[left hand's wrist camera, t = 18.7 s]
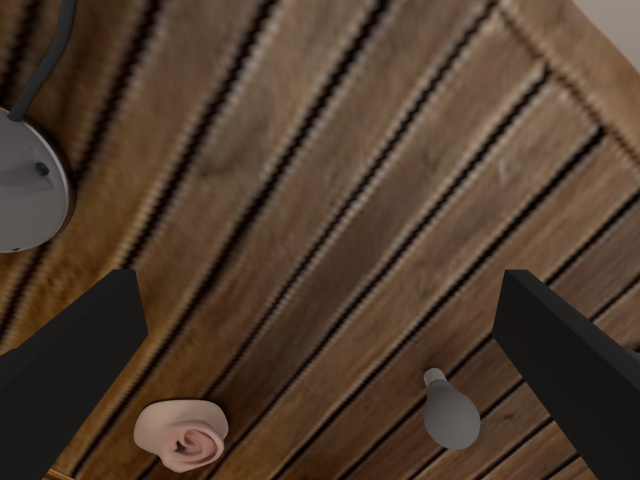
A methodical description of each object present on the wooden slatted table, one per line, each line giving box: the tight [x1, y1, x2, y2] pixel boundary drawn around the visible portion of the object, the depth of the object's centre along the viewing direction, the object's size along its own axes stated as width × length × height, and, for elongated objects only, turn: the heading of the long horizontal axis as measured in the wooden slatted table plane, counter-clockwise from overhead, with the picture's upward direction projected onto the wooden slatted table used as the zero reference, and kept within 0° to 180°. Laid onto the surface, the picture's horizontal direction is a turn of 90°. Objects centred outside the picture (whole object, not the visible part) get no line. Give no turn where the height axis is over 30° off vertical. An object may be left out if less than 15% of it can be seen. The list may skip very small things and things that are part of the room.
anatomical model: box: [134, 400, 228, 472], centre depth 48 cm, size 13×4×12 cm
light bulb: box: [423, 368, 480, 450], centre depth 41 cm, size 6×6×10 cm
